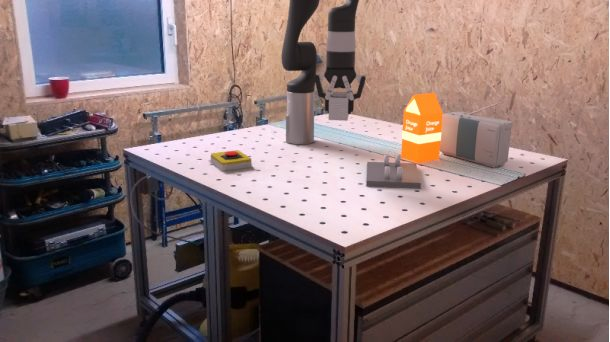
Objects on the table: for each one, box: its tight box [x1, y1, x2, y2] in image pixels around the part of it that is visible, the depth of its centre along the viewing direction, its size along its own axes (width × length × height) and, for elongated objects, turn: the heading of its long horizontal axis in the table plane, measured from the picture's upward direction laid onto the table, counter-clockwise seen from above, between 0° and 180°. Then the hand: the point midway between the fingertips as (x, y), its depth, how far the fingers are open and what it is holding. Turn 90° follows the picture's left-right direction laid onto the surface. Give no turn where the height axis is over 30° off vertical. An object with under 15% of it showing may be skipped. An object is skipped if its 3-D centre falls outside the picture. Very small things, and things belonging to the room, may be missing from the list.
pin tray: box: [365, 154, 422, 189], centre depth 152 cm, size 14×18×4 cm
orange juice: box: [400, 92, 444, 164], centre depth 168 cm, size 8×9×20 cm
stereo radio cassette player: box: [440, 97, 514, 169], centre depth 167 cm, size 21×8×20 cm, turn 37°
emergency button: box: [207, 149, 255, 174], centre depth 163 cm, size 9×4×15 cm
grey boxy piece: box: [328, 91, 350, 122], centre depth 150 cm, size 5×9×6 cm, turn 173°
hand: (339, 112), depth 150 cm, fingers closed on grey boxy piece, 5 cm apart
